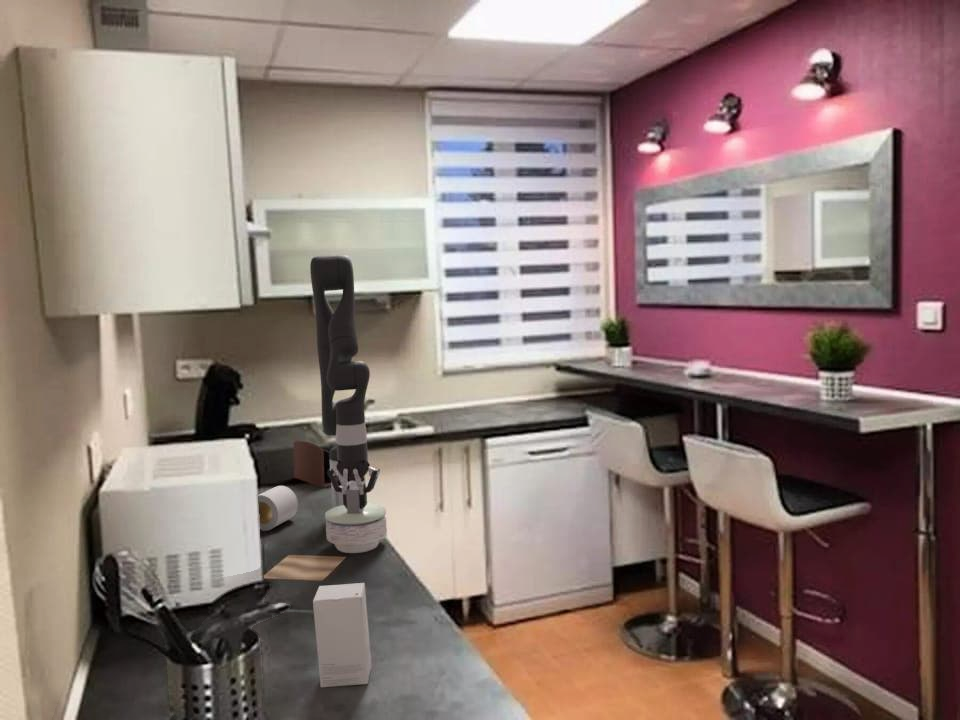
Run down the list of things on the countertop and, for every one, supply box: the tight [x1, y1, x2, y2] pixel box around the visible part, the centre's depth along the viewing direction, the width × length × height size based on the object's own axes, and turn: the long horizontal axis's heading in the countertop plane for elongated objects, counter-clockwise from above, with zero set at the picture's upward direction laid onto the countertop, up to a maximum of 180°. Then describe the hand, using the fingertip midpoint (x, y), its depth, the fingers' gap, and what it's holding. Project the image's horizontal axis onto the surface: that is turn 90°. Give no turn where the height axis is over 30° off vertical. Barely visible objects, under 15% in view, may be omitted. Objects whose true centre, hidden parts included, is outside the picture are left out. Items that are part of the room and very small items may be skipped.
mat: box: [263, 554, 347, 582], centre depth 186 cm, size 15×15×1 cm
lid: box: [324, 487, 387, 524], centre depth 199 cm, size 15×15×7 cm
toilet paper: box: [258, 485, 299, 532], centre depth 221 cm, size 10×10×10 cm
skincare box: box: [312, 582, 372, 688], centre depth 134 cm, size 8×7×16 cm
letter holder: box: [293, 440, 331, 489], centre depth 269 cm, size 10×20×14 cm, turn 41°
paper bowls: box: [325, 515, 388, 554], centre depth 199 cm, size 15×15×8 cm
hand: (355, 507), depth 199 cm, fingers closed on lid, 3 cm apart
